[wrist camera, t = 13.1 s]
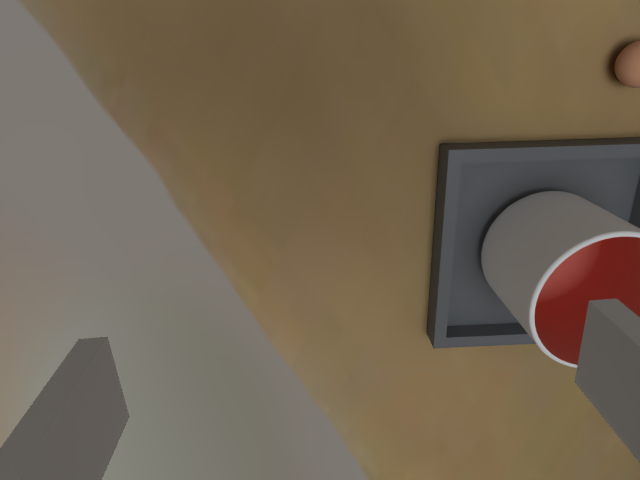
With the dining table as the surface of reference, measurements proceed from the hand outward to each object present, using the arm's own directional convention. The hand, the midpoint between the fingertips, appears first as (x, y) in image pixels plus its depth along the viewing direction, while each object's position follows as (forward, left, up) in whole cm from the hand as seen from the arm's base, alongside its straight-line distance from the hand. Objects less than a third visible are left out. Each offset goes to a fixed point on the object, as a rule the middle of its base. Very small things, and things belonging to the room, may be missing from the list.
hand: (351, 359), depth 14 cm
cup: (+8, +18, -25) cm, 32 cm away
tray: (+8, +18, -26) cm, 32 cm away
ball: (-6, +23, -26) cm, 35 cm away
